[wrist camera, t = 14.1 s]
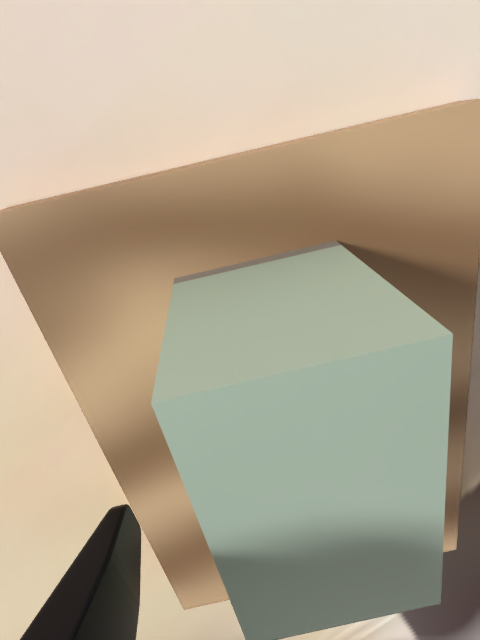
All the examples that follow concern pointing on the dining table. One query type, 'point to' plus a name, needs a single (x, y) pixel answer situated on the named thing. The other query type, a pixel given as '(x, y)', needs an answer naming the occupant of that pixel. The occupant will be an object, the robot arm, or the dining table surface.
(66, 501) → the dining table surface
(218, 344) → the block
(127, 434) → the oak board
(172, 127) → the dining table surface
